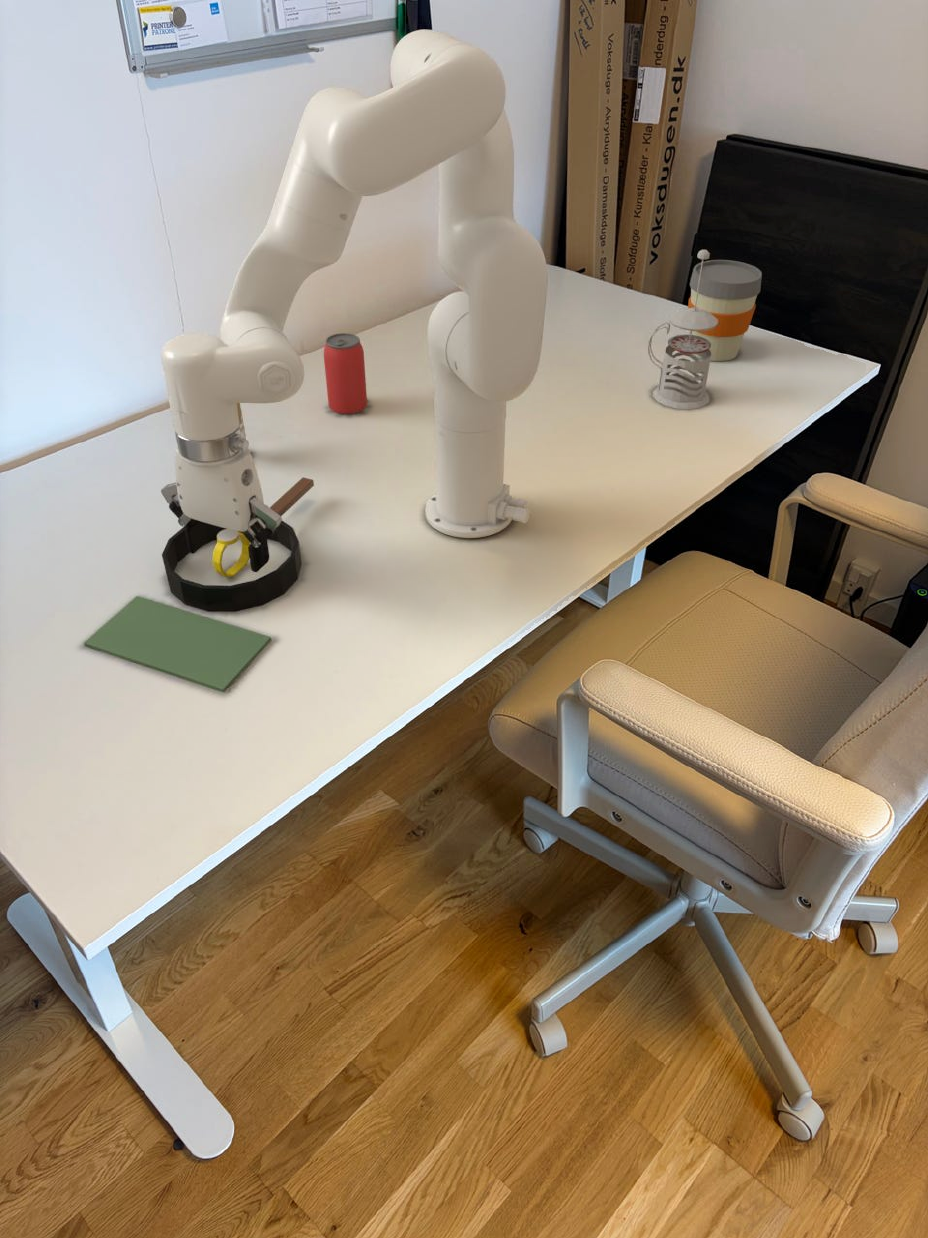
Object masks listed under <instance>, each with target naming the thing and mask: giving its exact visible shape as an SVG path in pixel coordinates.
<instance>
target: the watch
mask: <svg viewBox="0 0 928 1238" xmlns="http://www.w3.org/2000/svg"><path fill="white" fill-rule="evenodd" d="M239 539H240V542H241V551H240V555H239V557H238V560H237V561H236V562H235V563H234V564H233V565H232V566H231V567H230V568H229V569H227V570H226V571H225V570H224V568H223V563H222V561H223V556H224V552H225V550H226V548H227V546H231V545H234V544H236V543H237V542H238V541H239ZM216 541H217V542H216V544H215V546H214V549H213V551H212V552H213V553H212V559H211V561H212V566H213V569H214V571H215V572H216V573H217V574H218V575H221V576H223V577H225V578H234V577H235V576H236V575H237V574H238V573H239V572H241V570H243V569H244V568H245V567H247V565H248V563H249V562H250V558H249V551H248V547H249V545H250V544H251V543H250V542H249V541H248V539H247V538H246V537H245V536H244V534H243V533H240V532H237V531H234V530H230V529H225V530H222V531H220V532H219V533H218V534H217V540H216Z"/></svg>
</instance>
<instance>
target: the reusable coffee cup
mask: <svg viewBox="0 0 928 1238" xmlns="http://www.w3.org/2000/svg"><path fill="white" fill-rule="evenodd" d="M701 263H702V261H701V262H698V263H697V264H695V266H694V267H693V269H692V273H691V277H690V282H689V287H690V297H688V305H687V306H688V307H687V308H695V301H696V295H697V289H698V282H699V276H700V270H701ZM762 275H763V273H762V271H761V270H760V269H759V268H758V267H756V266H755V265H753V264H749V263H746V262H741V261H737V260H730V259H712V260H706V261H703V266H702V272H701V278H700V284H699V291H698V297H697V303H696V308H698V309H703V310H705V311H708V312H710V313H711V314H712V315H713V316H714V317H716V318H717V319H718V324H717V325H716V326H715V327H714V328H713V329H711V330H708V331H692V334H693V335H695V336H696V335H697V336H699V337H702V338H705V339H707V340H708V341H709V342H710V343H711V347H710V348H709V350H710V351H711V359H710V362H725V361H730V360H733V359H735V358H737V356H738V354H739V351H740V348H741V345H742V342H743V339H744V335H745V333H747V332H748V330H749V328H750V325H751V323H752V318H753V316H754V313H755V310H756V299H757V297H758V295H759V294H760V292H761V290H762V289H761V286H762V278H763V277H762ZM690 333H691V331H689V334H690ZM692 355H694V356H695V357H696V358H698V359H701V360H704V359H703V358H701V357H700V356H699V355H697V354H692Z"/></svg>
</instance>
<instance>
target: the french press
mask: <svg viewBox="0 0 928 1238" xmlns="http://www.w3.org/2000/svg"><path fill="white" fill-rule="evenodd" d="M710 255H711V253H710V252H709V251H708V250H707V249H701V250H699V251H698V253H697V258H698V260H699V259H700V260H701V262H702V263H701V262H700V263H701V270H700V276H699V282H698V289H697V295H696V301H695V308H688V307H687V308H680V309H677V310H675V311H673V312H672V313H670V314H669V315H668V321H669V322H667V321H666V322H664V323H661V324H659V325H658V326H657V327H655V328H654V329H653V331H652V333H651V335H650V338H649V340H648V343H647V345H648V346H647V354H648V358H649V360H650V361H651V363H653V365H655V366H656V367H658V368H659V369H660V373H659V374H660V375H659V382H658V386H657V387H656V388H655V389H654V390H653V391H652V398H653V399H654V400H655V401H656V402H657V403H659V404H661V405H663V406H665V407H668V408H672V409H677V410H693V409H694V410H695V409H699V408H702V407H704V406H707V404H708V403H709V402H710V395H709V394H708V392H707V391H706V387H707V382H708V375H709V371H710V366H711V365H710V364H711V361H710V359H711V351H710V350H709V348H710V347H711V343H710V342H709V341H708V340H707V339H705V338H702V337H699V336H697V335H696V336H695V335H693V334H692V331H708V330H711V329H713V328H714V327H715V326H716V325H717V324H718V319H717V318H716V317H714V316H713V315H712V314H711V313H710V312H708V311H705V310H703V309H698V308H696V303H697V297H698V291H699V284H700V278H701V272H702V266H703V262H704V260H709V259H710ZM666 325H667V326H666ZM671 326H674V327H675V328H677V329H680V330H683V331H689V334H685V333H684V334H676V335H673V336H671V337H669V339H668V340H667V344H668V345H666V347H665V351H664V357H663V362H662V361H660V360H659V359H658V358H656V356H655V355H654V352H653V350H652V342H653V341H652V339H653V337H654V336H655V334H656V333H657V332H659V331H660V330H662V329H666V334H667V335H668V334H669V332H670V328H671ZM690 331H691V333H690ZM674 352H676V353H674ZM693 354H697V355H699V356H700V357H701V358H703V359H701V358H699V357H696V356H694V355H693ZM681 356H684V357H685V356H686V357H689V358H691V359H692V360H693V361H692V360H690V359H687V358H683V357H682V358H676V357H681ZM653 359H654V360H655V361H656V362H658V363H660V364H661V366H660V365H658V364H657V363H656V362H655V361H654V360H653ZM700 359H701V360H700ZM672 366H674V367H672ZM683 370H684V371H683ZM685 371H688V372H689V373H690V374H688V373H687V372H685ZM671 373H672V374H671ZM699 374H700V375H699Z"/></svg>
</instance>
